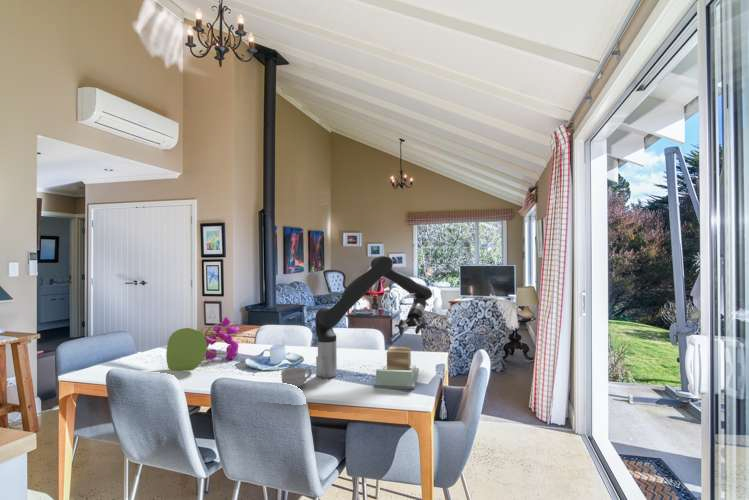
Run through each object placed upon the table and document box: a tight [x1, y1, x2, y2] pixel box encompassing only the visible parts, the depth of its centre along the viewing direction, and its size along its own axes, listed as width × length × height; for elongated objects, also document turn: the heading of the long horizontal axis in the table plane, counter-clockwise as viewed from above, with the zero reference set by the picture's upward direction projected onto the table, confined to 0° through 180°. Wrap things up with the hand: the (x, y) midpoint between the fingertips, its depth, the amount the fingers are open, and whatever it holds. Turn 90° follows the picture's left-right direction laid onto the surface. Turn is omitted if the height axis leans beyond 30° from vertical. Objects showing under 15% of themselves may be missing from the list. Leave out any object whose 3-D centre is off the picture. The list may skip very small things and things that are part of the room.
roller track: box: [373, 364, 420, 390], centre depth 205 cm, size 30×18×8 cm, turn 170°
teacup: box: [280, 367, 313, 389], centre depth 195 cm, size 14×11×8 cm
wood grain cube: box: [386, 345, 412, 370], centre depth 211 cm, size 12×10×11 cm
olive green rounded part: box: [165, 316, 241, 372], centre depth 240 cm, size 30×28×35 cm
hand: (408, 333), depth 216 cm, fingers open, 8 cm apart
